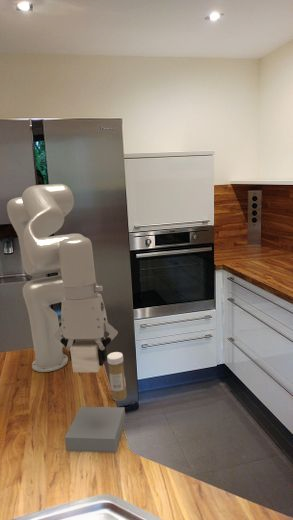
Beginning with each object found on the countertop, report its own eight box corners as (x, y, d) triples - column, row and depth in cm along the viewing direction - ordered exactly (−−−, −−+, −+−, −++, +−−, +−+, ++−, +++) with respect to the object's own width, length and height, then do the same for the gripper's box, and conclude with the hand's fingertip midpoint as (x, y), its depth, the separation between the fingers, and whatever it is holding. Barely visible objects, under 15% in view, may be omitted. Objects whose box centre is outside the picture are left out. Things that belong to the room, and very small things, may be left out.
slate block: (82, 419, 96) (80, 406, 95) (125, 420, 94) (124, 407, 93) (66, 452, 84) (64, 437, 83) (116, 454, 82) (114, 438, 82)
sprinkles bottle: (129, 394, 105) (125, 352, 103) (122, 402, 101) (118, 359, 99) (115, 391, 107) (111, 350, 104) (108, 400, 103) (104, 357, 100)
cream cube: (81, 359, 89) (78, 337, 87) (104, 359, 88) (102, 337, 87) (73, 372, 83) (70, 348, 82) (97, 372, 82) (95, 348, 81)
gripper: (120, 285, 84) (127, 355, 87) (51, 288, 87) (60, 356, 90) (112, 294, 77) (120, 371, 80) (38, 297, 79) (48, 371, 83)
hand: (89, 362), depth 85 cm, fingers closed on cream cube, 6 cm apart
